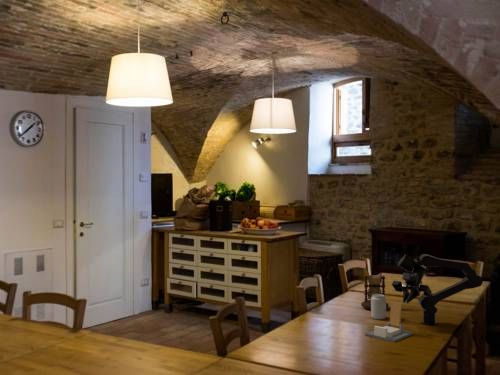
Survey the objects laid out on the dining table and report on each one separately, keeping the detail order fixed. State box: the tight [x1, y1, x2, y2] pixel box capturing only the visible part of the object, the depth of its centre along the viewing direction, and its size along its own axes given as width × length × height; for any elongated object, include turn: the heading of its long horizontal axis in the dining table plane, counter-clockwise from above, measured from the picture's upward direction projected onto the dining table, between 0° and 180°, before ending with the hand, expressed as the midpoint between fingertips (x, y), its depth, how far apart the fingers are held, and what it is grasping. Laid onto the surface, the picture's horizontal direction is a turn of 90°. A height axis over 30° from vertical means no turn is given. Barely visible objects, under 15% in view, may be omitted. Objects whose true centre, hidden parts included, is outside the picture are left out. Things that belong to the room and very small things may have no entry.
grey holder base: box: [364, 321, 414, 343], centre depth 250 cm, size 17×15×5 cm
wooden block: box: [389, 300, 403, 327], centre depth 254 cm, size 1×5×11 cm, turn 45°
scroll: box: [361, 271, 389, 311], centre depth 302 cm, size 15×15×20 cm
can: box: [370, 293, 387, 320], centre depth 281 cm, size 8×8×12 cm
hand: (405, 302), depth 260 cm, fingers closed
